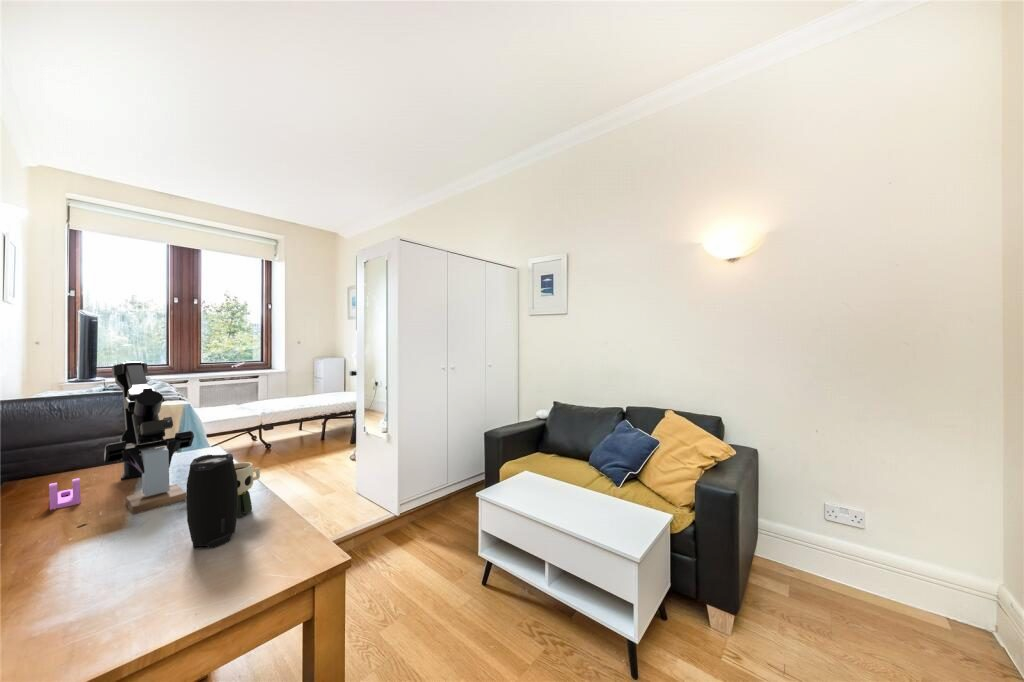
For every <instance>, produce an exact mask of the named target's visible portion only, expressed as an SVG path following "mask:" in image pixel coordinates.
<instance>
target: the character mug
mask: <svg viewBox="0 0 1024 682" xmlns="http://www.w3.org/2000/svg"><path fill="white" fill-rule="evenodd" d="M234 466H235V470H236V474H237V486H238V515H237V518H240V517H241V516H242V513H243V512H244V515H248V514H249V513H251V512H252V511H253V505H252V500H251V495H250V491H249V490H251V489H252V487H253V485H254V481H256V480H259V479H260V477H261V470H260V469H261V468H260V467H255V468H254V466H253V463H252V462H249V461H248V462H247V461H245V462H236V463H235V462H234ZM254 473H255V476H254Z"/></svg>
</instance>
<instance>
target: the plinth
mask: <svg viewBox="0 0 1024 682" xmlns="http://www.w3.org/2000/svg"><path fill="white" fill-rule="evenodd" d="M169 485H170V484H169ZM185 499H186V491H184V490H183V488H182V487H181V486H179V485H178V484H177V483H175V484H171V485H170V491H166V492H162V493H158V494H155V495H151V496H147V497H146V496H145V495H144V494H143V492H139V493H135V494H130V495H127V496H125V504H126V506H127V507H128V509H129V511H130V512H131V514H132V515H136V514H139V513H143V512H147V511H151V510H154V509H158V508H161V507H164V506H168V505H172V504H175V503H179V502H178V501H180V502H183V501H186V500H185ZM182 500H183V501H182Z"/></svg>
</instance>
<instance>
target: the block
mask: <svg viewBox="0 0 1024 682" xmlns="http://www.w3.org/2000/svg"><path fill="white" fill-rule="evenodd" d="M141 460H142V463H143V466H144V473H143V474H142V476H141V488H142V489H141V491H142V492H143V494H144V495H145V496H146V497H147V496H151V495H155V494H158V493H162V492H166V491H170V468H169V450H168V449H167V446H163V447H157V448H155V449H149V450H144V451H141ZM142 492H141V493H142Z"/></svg>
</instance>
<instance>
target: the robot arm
mask: <svg viewBox="0 0 1024 682" xmlns="http://www.w3.org/2000/svg"><path fill="white" fill-rule="evenodd" d="M148 370H149V369H148V363H145V362H144V361H141V360H138V361H125V362H122V363H117V364H115V365H112V367H111V377H112V378H114V383H115V384H116V385H117V386H118V387H119V388H120V390H121V389H122V399H123V400H122V401H123V413H124V424H125V425H124V426H125V431H124V433H123V434H122V436H121V437H120V439H119V442H118V441H117V442H113V443H112V442H111V443H107V444H106V445H105V447H104V453H103V457H104V460H103V461H104V463H108V464H109V463H112V462H119V463H120V462H123V473H122V475H121V477H120V480H125V479H126V480H128V479H132V478H137V477H142V474H143V473H144V466H143V463H142V460H141V451H144V450H149V449H155V448H160V447H166V448H167V449H168V450H169V469H170V467H171V463H172V458H173V456H174V453H176V452H178V451H179V450H181V449H186V448H190V447H192V444H193V442H194V439H195V434H194V432H193V430H185V431H177V432H175V435H174V437H169V438H164V437H165V436H166V430H168V429H172V428H173V427H174V422H173V418H172V416H167V417H163V419H160V416H159V413H160V411H161V410H162V404H163V403H164V402H165V397H163V396H164V395H163V394H162V393H160V392H159V391H156V388H154V387H153V386H150V385H149V384H148V381H147V377H146V376H147V375H148V374H149V371H148Z"/></svg>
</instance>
